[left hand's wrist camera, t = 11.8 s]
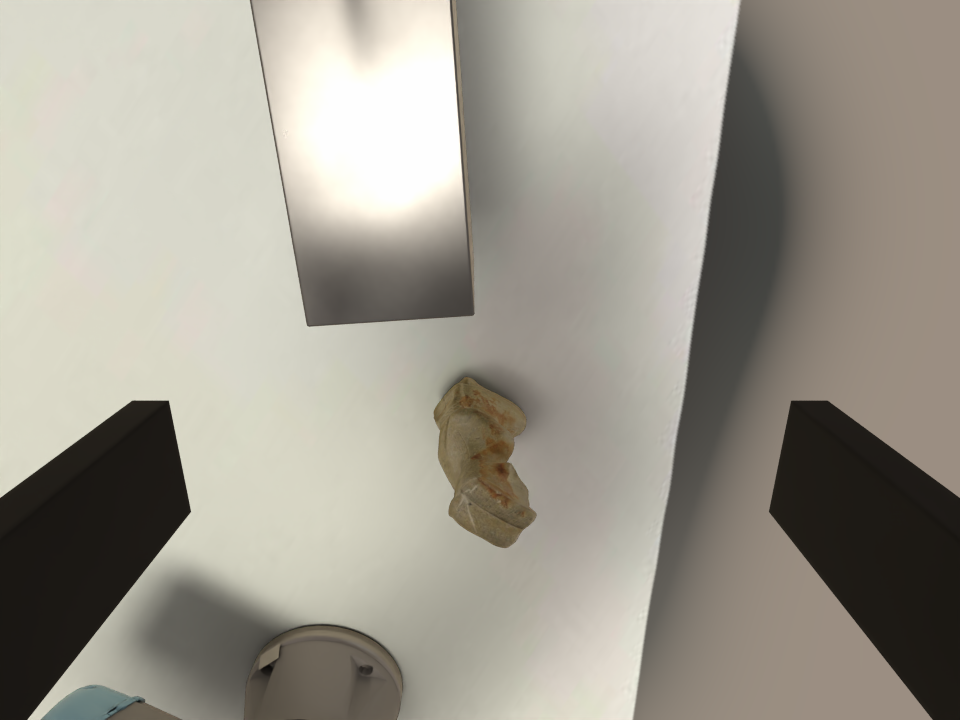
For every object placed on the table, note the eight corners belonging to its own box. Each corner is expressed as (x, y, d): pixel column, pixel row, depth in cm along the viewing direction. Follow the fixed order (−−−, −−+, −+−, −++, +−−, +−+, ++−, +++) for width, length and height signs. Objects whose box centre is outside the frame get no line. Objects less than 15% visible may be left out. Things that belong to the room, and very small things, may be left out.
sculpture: (490, 455, 51) (494, 574, 36) (425, 405, 49) (403, 511, 35) (536, 408, 49) (558, 514, 35) (469, 355, 47) (465, 444, 33)
